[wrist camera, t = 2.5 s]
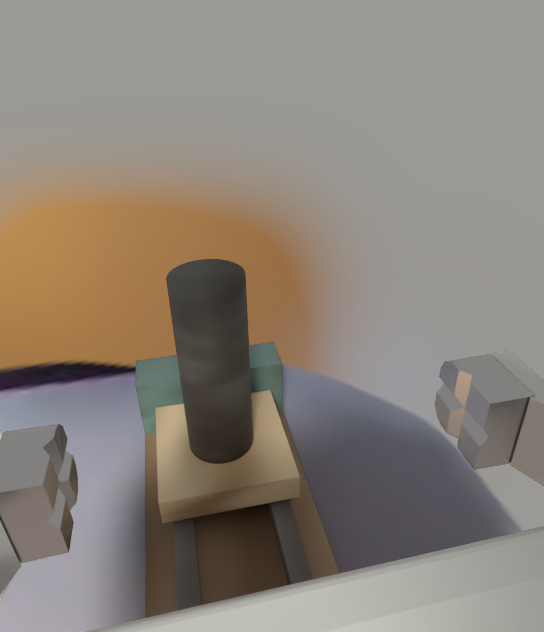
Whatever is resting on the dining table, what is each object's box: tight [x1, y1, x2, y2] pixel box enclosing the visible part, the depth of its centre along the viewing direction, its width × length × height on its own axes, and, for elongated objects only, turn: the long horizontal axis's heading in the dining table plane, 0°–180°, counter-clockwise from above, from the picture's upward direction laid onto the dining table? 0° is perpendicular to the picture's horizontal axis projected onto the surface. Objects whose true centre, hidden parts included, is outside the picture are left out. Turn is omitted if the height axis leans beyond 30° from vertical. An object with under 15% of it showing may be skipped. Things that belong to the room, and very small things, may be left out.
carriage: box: [155, 259, 300, 524], centre depth 25 cm, size 7×7×12 cm
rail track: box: [135, 342, 339, 618], centre depth 23 cm, size 9×28×6 cm, turn 12°
